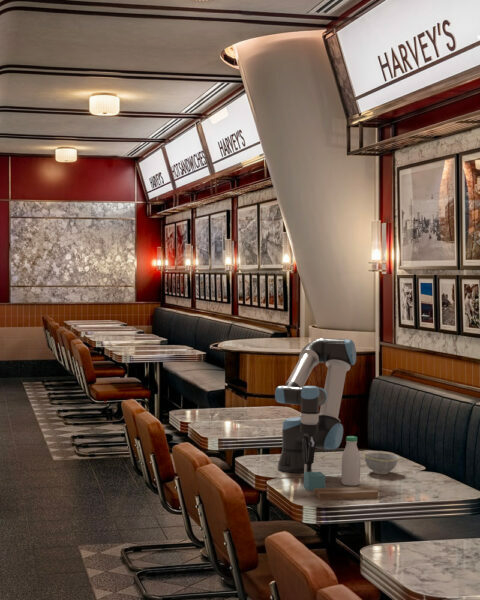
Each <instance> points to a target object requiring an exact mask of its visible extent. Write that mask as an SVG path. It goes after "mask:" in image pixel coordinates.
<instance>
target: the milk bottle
mask: <svg viewBox="0 0 480 600" xmlns="http://www.w3.org/2000/svg"><path fill="white" fill-rule="evenodd" d="M345 442H346V444H345V448H344V449H343V452H342V456H341V479H340V480H341V485H345V486H351V487H352V486H353V487H355V486H359V485H360V483H361V454H360V451H359V449H358V445H357V444H358V436H355V435H348V436H346V437H345Z"/></svg>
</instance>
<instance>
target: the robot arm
mask: <svg viewBox="0 0 480 600" xmlns="http://www.w3.org/2000/svg"><path fill="white" fill-rule="evenodd" d="M298 357H299V359H298V360H297V363H296V365H295V367H294V368H293V370H292V372H291V374H290V376H289V377H288V379H287V381H286V382H285V384H284V385H279V386H277V387H276V388H275V390H274V391H275V392H274V399H275V402H277V403H279V404H284V405H299V406H300V415H299V416H298V417H297V416H296V417H291V418H286V419H284V420H283V422H282V428H281V431H282V434H281V435H282V439H281V440H282V441H281V445H282V446H281V447H282V448H281V454H280V457H279V459H278V461H277V470H279V471H281V472H286V473H287V472H288V473H304V472H313V471H312V470H313V469H312V468H313V467H312V466H313V464H314V462H315V453H316V452H315V451H316V449H319V450H320V449H322V450H326V451H327V450H337V449H338V448H339V447H340V445H341V443H342V440H343V435H344V425H343V424H342V423H341V419H340V418H339V414H340V409H341V402H342V397H343V394H344V393H343V392H344V386H345V380H346V376H347V372H348V371H350V370H351V366H354V365H355V364H356V362H357V350H356V345H355V342H354V341H353V340H352V339H346V338H326V337H320V338H317V339H314V340H312V341H310V342H309V343H308V344H306V345H305V346H304V347H303V348H302V349H301V351H300V353H299V356H298ZM318 364H325V367H327V373H326V376H325V377H326V378H325V383H324V388H323V387H318V386H315V385H306V382H307V380H308V378H309V377H310V374H311V373H312V371H313V369H314V368H315V367H316V366H318ZM319 407H320V410H319Z"/></svg>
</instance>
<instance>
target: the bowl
mask: <svg viewBox="0 0 480 600" xmlns="http://www.w3.org/2000/svg"><path fill="white" fill-rule="evenodd" d="M363 458H364V460H365V463H366V466H367V467H368V469H370V470H371V471H372V473H374V474H377V475H388V474H389V472H391V471H392V470H394V469H395V468H396V465H397V464H398V461H399V460H400V456H399V455H396V454H393V453H388V452H366V453H364V454H363Z"/></svg>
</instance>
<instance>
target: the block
mask: <svg viewBox="0 0 480 600" xmlns="http://www.w3.org/2000/svg"><path fill="white" fill-rule="evenodd" d="M303 487H304V488H305V489H306V490H307V491H314V489H318V488H326V475H325V474H324V473H322V472H321V471H312V472H303Z"/></svg>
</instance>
